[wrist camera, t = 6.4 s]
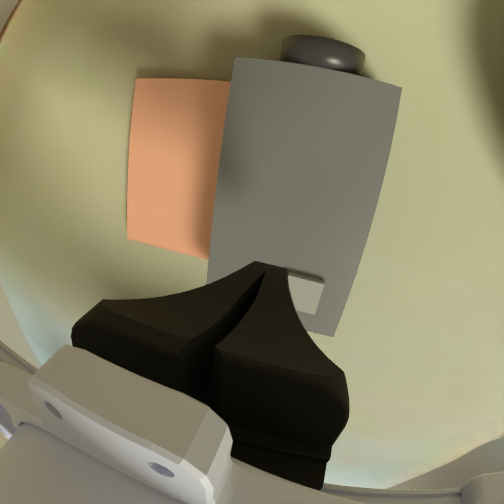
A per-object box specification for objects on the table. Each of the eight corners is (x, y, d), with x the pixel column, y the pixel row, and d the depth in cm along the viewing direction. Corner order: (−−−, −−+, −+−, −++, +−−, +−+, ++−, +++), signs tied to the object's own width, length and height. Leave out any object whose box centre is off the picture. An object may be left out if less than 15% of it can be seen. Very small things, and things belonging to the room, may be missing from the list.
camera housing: (335, 297, 22) (332, 341, 17) (228, 270, 23) (202, 305, 19) (390, 72, 15) (408, 55, 10) (261, 47, 16) (237, 25, 12)
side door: (210, 260, 22) (127, 238, 23) (214, 255, 22) (132, 234, 24) (233, 81, 17) (136, 78, 18) (237, 83, 17) (142, 79, 18)
